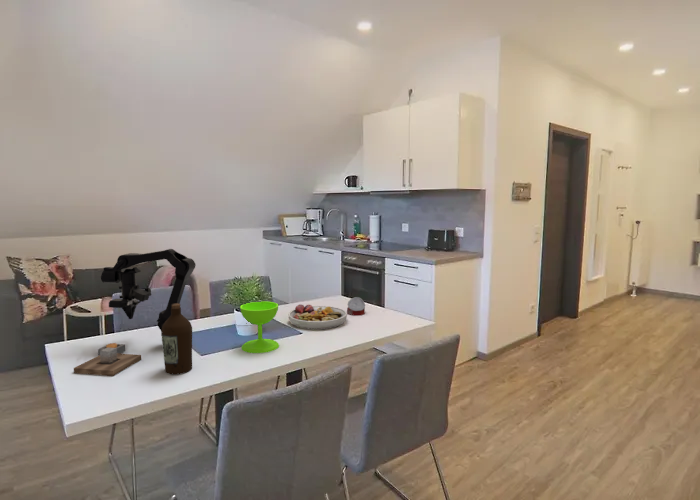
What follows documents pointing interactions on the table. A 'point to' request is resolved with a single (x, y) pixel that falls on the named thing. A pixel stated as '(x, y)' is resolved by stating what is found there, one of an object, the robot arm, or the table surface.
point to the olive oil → (177, 342)
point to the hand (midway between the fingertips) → (130, 318)
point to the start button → (111, 345)
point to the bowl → (317, 317)
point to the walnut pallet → (104, 369)
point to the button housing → (119, 347)
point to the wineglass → (259, 325)
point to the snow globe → (356, 307)
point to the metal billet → (108, 356)
